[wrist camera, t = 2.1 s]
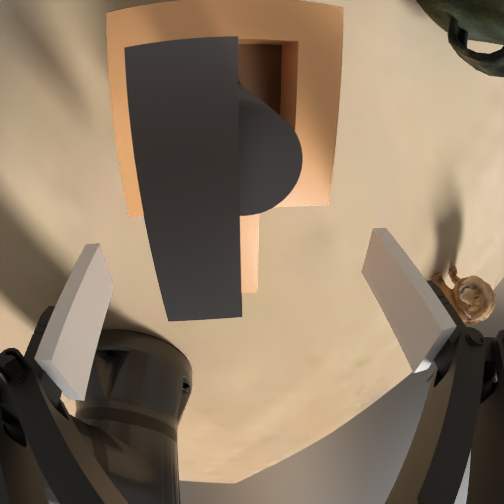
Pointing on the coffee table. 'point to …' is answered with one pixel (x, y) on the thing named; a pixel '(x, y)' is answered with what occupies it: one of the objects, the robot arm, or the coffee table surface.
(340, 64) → the orange square frame paddle
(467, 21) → the mug
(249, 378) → the coffee table surface
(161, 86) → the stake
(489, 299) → the lion figurine
